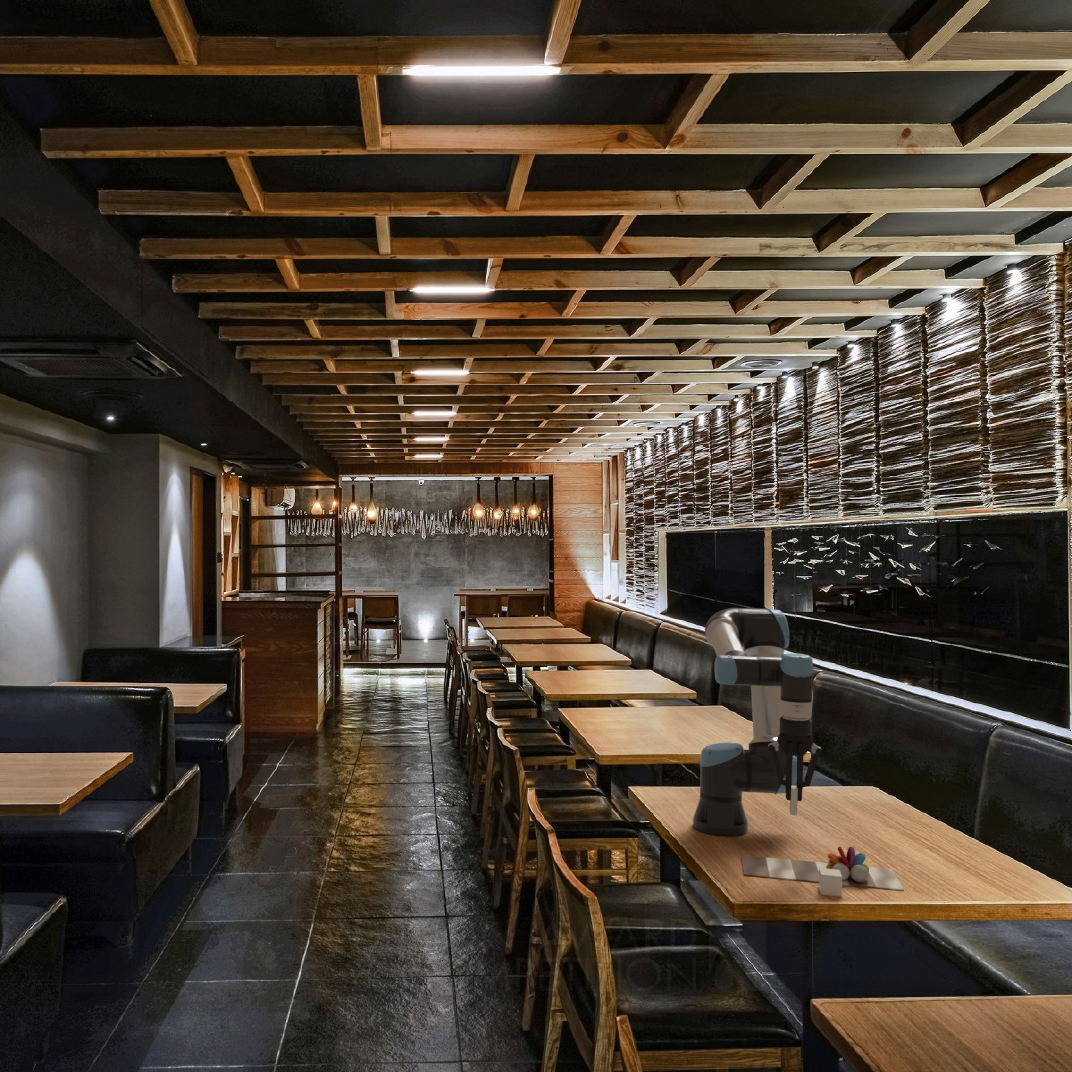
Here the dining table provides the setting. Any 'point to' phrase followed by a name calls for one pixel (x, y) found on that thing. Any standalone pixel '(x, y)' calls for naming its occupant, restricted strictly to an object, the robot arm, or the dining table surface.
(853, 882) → the striped mat
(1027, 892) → the dining table surface
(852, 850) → the rainbow segmented toy
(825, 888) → the cube
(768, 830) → the dining table surface
